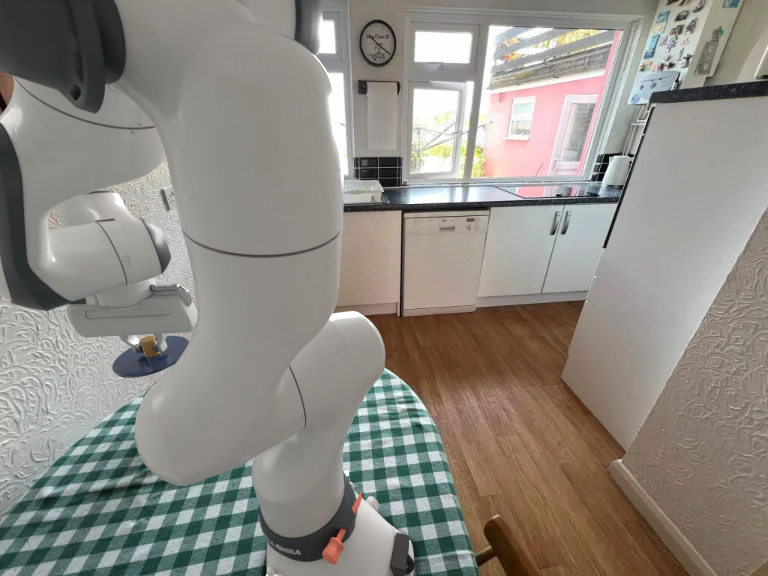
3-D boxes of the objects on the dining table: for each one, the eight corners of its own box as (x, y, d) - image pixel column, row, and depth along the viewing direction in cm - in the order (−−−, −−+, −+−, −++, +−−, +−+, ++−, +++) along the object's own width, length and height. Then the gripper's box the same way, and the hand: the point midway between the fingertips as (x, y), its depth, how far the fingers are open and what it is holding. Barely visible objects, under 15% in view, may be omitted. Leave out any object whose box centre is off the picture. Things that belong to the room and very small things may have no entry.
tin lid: (204, 348, 64) (198, 329, 62) (139, 388, 54) (129, 367, 52) (166, 334, 69) (159, 316, 67) (100, 368, 59) (89, 348, 57)
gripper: (194, 276, 58) (213, 338, 64) (78, 281, 57) (108, 343, 63) (177, 291, 53) (199, 357, 59) (47, 297, 51) (83, 364, 57)
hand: (151, 350), depth 61 cm, fingers closed on tin lid, 2 cm apart
